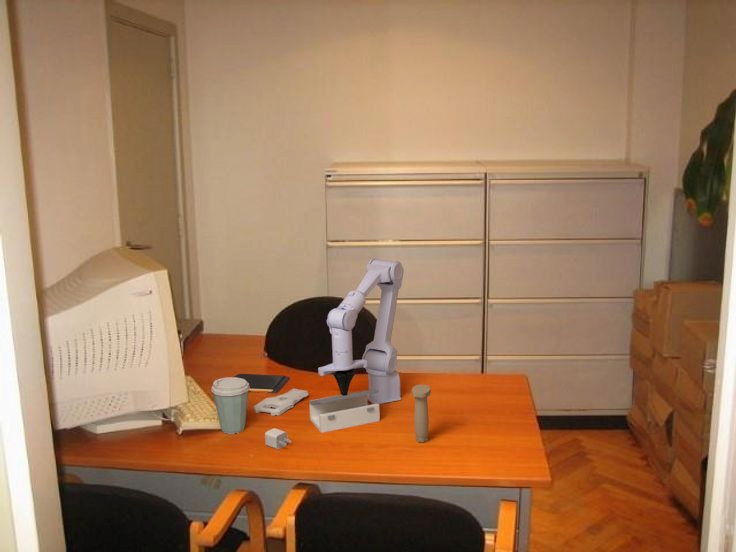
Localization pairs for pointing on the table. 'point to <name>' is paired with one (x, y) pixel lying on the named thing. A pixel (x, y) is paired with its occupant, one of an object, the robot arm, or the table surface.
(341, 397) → the cover
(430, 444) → the table surface
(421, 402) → the handle
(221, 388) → the disposable coffee cup
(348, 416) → the open hinged case
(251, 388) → the black notebook
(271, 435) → the usb wall charger
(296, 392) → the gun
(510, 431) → the table surface
